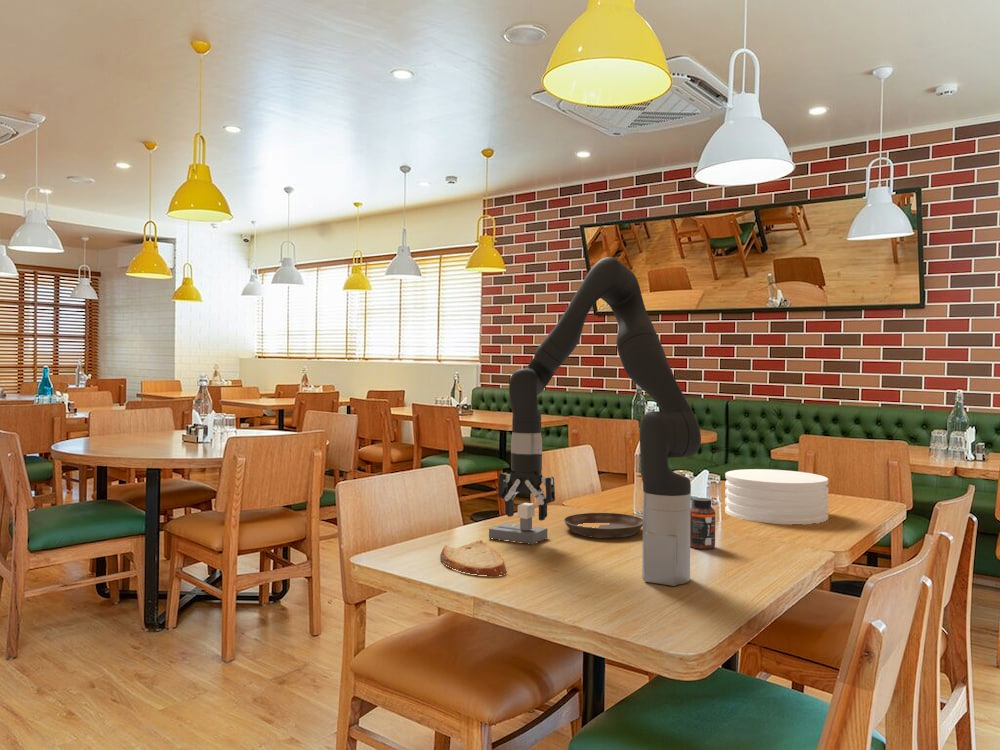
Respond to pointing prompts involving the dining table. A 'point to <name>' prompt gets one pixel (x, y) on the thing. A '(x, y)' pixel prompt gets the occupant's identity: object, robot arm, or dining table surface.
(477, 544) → the bread slice
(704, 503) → the supplement bottle
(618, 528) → the plant saucer
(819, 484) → the plate stack
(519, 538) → the console panel
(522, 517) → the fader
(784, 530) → the dining table surface
